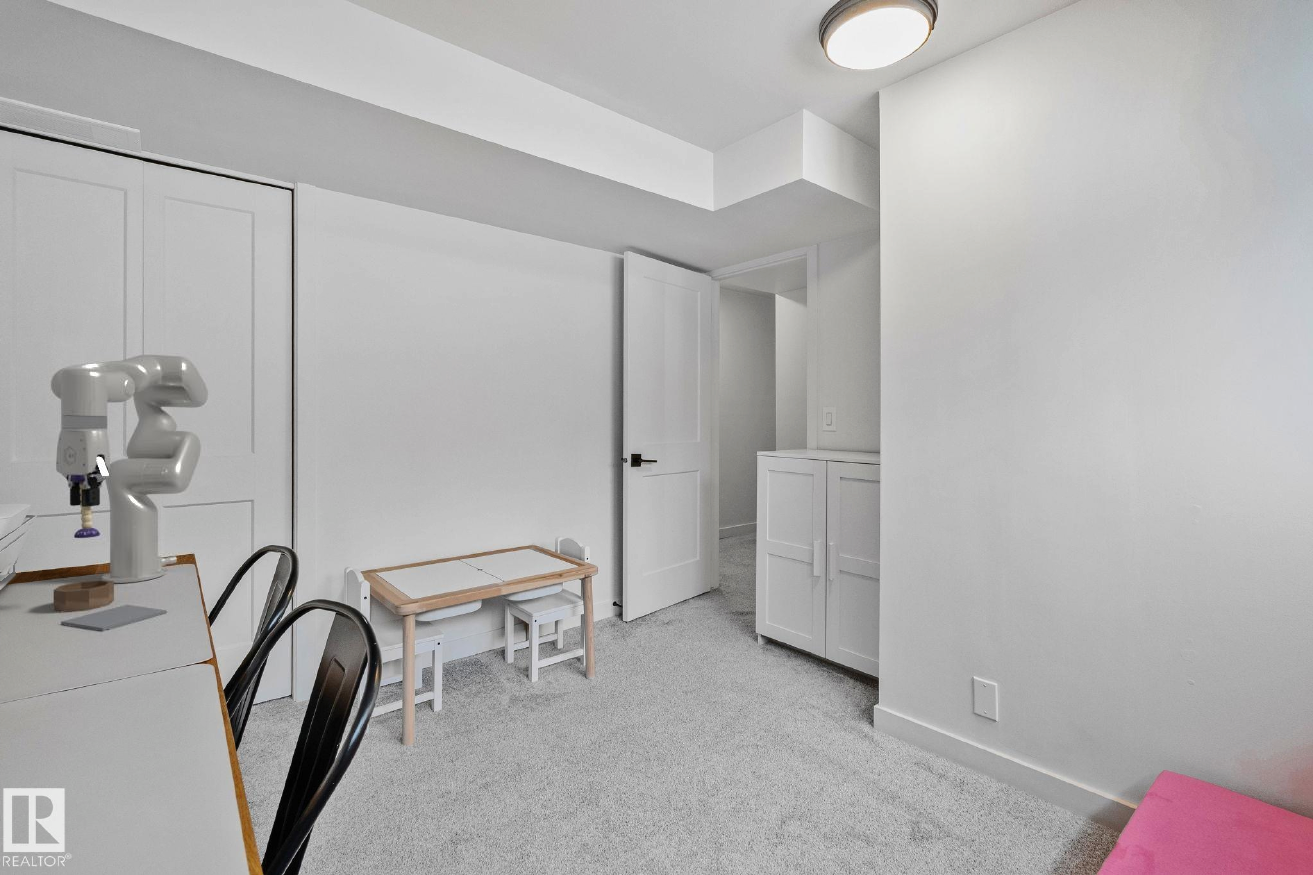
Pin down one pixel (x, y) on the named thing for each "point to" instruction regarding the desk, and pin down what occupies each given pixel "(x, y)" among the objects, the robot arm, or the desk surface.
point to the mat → (114, 617)
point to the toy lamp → (85, 513)
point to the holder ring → (83, 595)
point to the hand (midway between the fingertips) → (85, 504)
